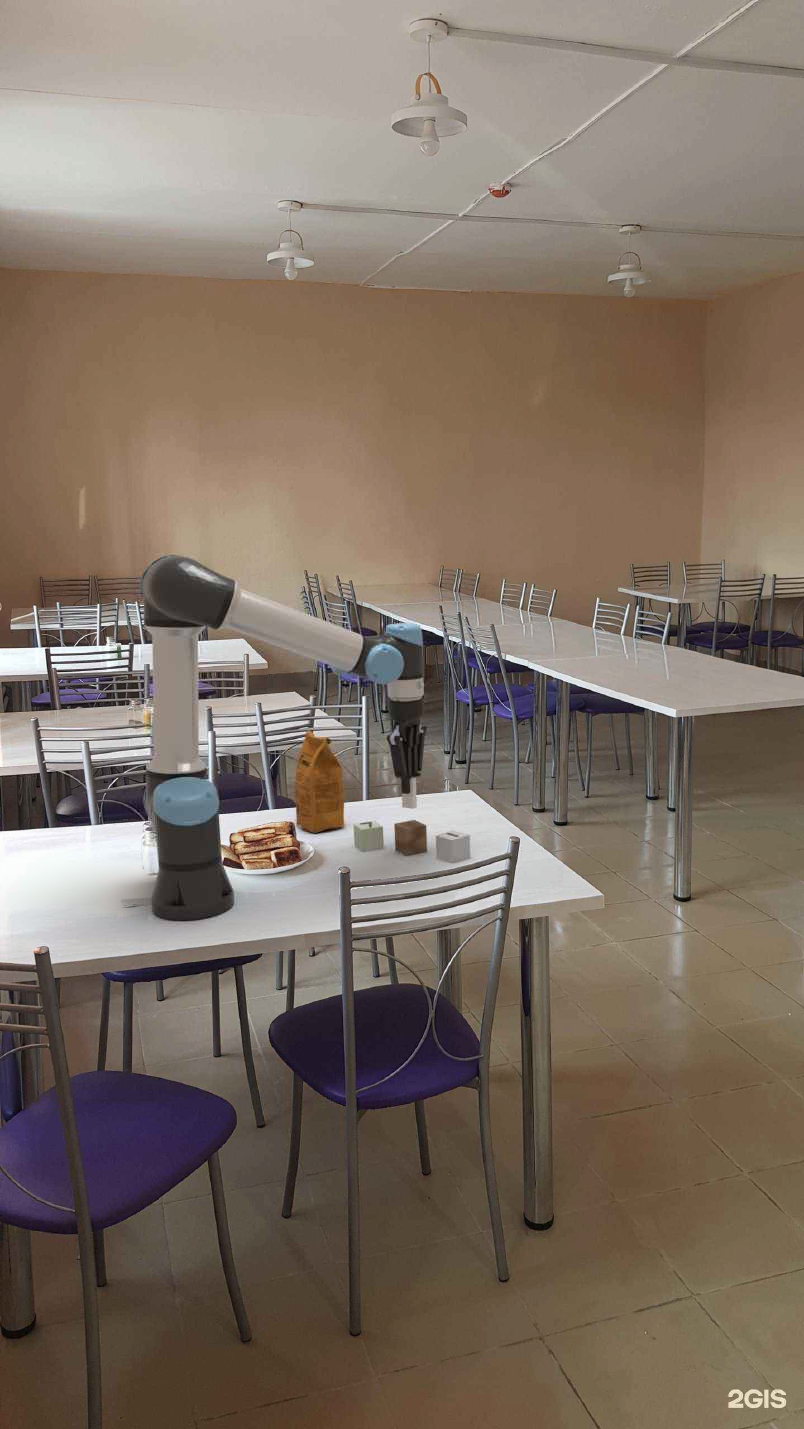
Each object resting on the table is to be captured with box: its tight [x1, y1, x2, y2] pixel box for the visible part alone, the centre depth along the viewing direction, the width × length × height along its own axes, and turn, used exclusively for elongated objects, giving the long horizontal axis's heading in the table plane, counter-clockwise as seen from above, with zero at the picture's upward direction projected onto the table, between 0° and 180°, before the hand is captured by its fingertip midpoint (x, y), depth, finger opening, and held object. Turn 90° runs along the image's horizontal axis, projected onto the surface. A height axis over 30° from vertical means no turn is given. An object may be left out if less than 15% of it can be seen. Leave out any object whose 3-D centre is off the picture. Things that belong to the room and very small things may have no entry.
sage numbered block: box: [353, 820, 385, 853], centre depth 231 cm, size 5×5×5 cm
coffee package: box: [294, 730, 345, 834], centre depth 246 cm, size 10×12×22 cm
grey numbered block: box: [435, 829, 471, 864], centre depth 221 cm, size 5×5×5 cm
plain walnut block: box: [393, 819, 428, 857], centre depth 226 cm, size 5×5×6 cm
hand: (409, 807), depth 225 cm, fingers closed
